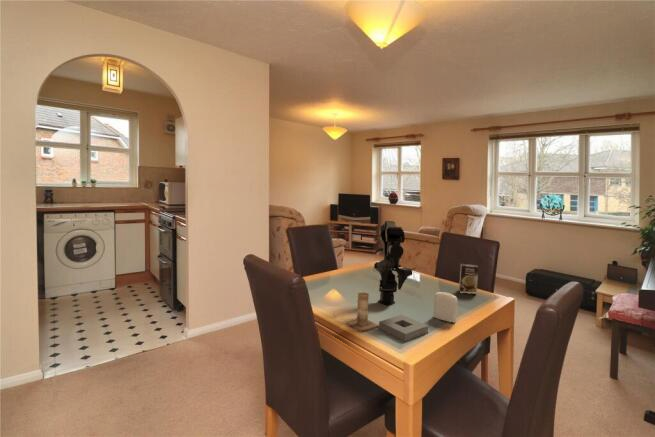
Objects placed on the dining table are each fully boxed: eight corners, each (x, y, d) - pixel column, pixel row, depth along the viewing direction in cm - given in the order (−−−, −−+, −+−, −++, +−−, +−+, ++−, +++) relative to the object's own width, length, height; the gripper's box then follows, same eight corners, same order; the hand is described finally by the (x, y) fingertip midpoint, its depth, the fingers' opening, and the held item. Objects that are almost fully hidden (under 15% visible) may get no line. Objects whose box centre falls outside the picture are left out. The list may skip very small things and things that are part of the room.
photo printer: (431, 317, 154) (433, 291, 153) (435, 315, 157) (437, 289, 156) (453, 324, 147) (455, 296, 146) (457, 321, 150) (459, 294, 149)
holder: (378, 328, 140) (379, 321, 140) (401, 321, 149) (401, 314, 148) (405, 341, 129) (405, 333, 129) (427, 332, 138) (428, 325, 137)
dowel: (356, 321, 144) (357, 292, 143) (366, 321, 145) (367, 292, 144) (358, 326, 140) (359, 295, 139) (368, 325, 141) (369, 295, 139)
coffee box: (459, 293, 192) (461, 265, 190) (458, 290, 198) (460, 263, 196) (476, 295, 189) (478, 267, 187) (475, 292, 195) (477, 264, 194)
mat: (345, 324, 144) (345, 322, 143) (362, 319, 150) (362, 317, 149) (361, 332, 136) (361, 330, 136) (378, 327, 142) (378, 325, 142)
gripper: (366, 251, 157) (365, 284, 158) (396, 258, 142) (395, 295, 143) (383, 249, 164) (381, 281, 165) (413, 256, 149) (412, 291, 150)
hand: (391, 286), depth 155 cm, fingers open, 9 cm apart
